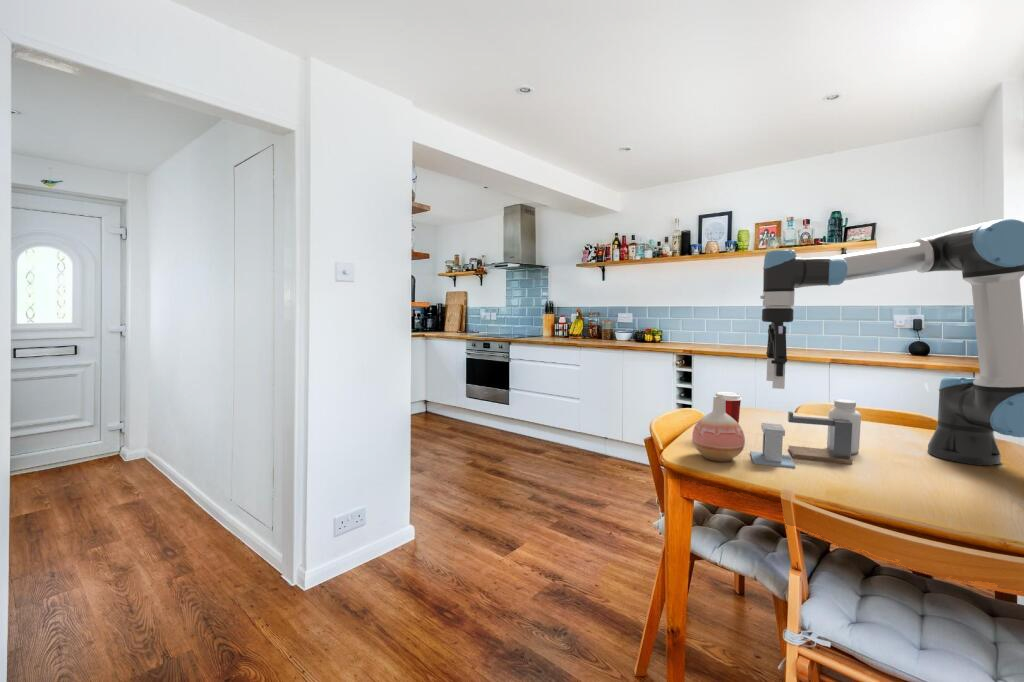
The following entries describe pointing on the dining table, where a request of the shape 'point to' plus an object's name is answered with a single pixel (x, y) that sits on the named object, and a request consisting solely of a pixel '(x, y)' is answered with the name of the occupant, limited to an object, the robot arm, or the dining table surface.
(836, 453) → the hook stand
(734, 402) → the coffee cup
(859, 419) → the pill bottle
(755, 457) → the mat
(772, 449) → the light grey block
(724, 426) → the vase
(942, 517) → the dining table surface
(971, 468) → the dining table surface
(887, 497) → the dining table surface
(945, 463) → the dining table surface
